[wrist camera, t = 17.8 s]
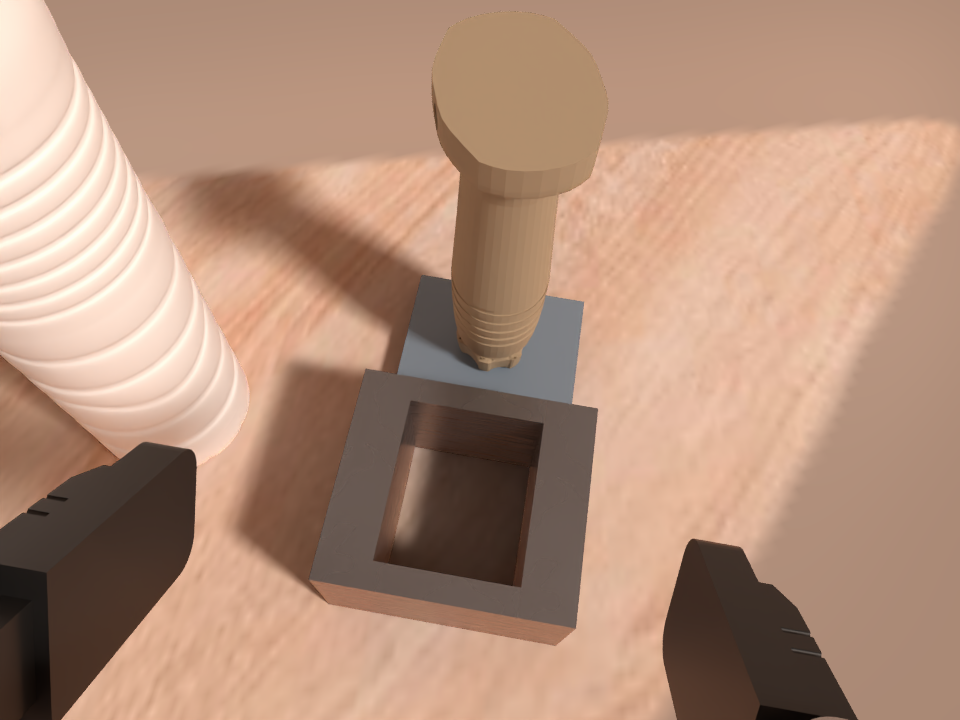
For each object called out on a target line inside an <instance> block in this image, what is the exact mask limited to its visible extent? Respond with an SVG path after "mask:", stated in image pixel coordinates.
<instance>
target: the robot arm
mask: <svg viewBox="0 0 960 720" xmlns="http://www.w3.org/2000/svg"><path fill="white" fill-rule="evenodd" d="M196 469H197V462H196V456H195V453H194V452H193V451H192V450H191V449H186V448H180V447H175V446H169V445H163V444H158V443H152V442H142V443H141V444H139V445H138V446H136V447H135V448H134V449H133V450H131V451H130V452H129V453H127V454H126V455H125V456H123V457H122V458H121V459H120V460H118V461H117V462H116V463H114V464H113V465H112V466H106V465H103V466H100V467H98V468H95V469H92V470H90V471H87V472H84V473H82V474H79V475H76V476H74V477H71V478H70V479H68V480H67V481H66V482H64V483H63V484H61V485H60V486H59V487H57V488H56V489H55V490H53V491H52V492H50V493H49V494H48V495H47V498H46V499H45V498H42V499H41V500H40V501H38V502H37V503H35V504H34V505H33V506H31V507H30V508H29V509H28V511H27V513H22V514H20V515H19V516H18V517H16V518H15V519H13V520H12V521H11V522H9V523H8V524H7V525H5V526H4V527H3V528H1V529H0V720H61V719H62V718H63V717H64V715H65V714H66V713H67V712H68V710H69V709H70V708H71V707H72V706H73V704H74V703H75V702H76V701H77V699H78V698H79V697H80V696H81V695H82V693H83V692H84V691H85V690H86V688H87V687H88V686H89V685H90V684H91V682H92V681H93V680H94V679H95V678H96V676H97V675H98V674H99V673H100V671H101V670H102V669H103V668H104V667H105V665H106V664H107V663H108V662H109V660H110V659H111V658H112V657H113V656H114V654H115V653H116V652H117V651H118V649H119V648H120V647H121V646H122V645H123V643H124V642H125V641H126V640H127V638H128V637H129V636H130V635H131V634H132V632H133V631H134V630H135V629H136V628H137V626H138V625H139V624H140V623H141V621H142V620H143V619H144V618H145V617H146V615H147V614H148V613H149V612H150V610H151V609H152V608H153V607H154V606H155V604H156V603H157V602H158V601H159V599H160V598H161V597H162V596H163V595H164V593H165V592H166V591H167V590H168V589H169V587H170V586H171V585H172V584H173V582H174V581H175V580H176V579H177V578H178V576H179V575H180V574H181V572H182V571H183V569H184V567H185V565H186V563H187V561H188V558H189V555H190V552H191V549H192V545H193V539H194V524H195V496H196ZM663 660H664V666H665V670H666V674H667V679H668V683H669V687H670V691H671V696H672V700H673V704H674V708H675V713H676V717H677V720H858V719H857V717H856V715H855V714H854V712H853V710H852V708H851V706H850V704H849V703H848V701H847V699H846V697H845V695H844V693H843V691H842V690H841V688H840V686H839V684H838V682H837V680H836V679H835V677H834V675H833V673H832V671H831V669H830V668H829V666H828V664H827V662H826V660H825V659H824V658H821V651H820V649H819V647H818V646H817V644H816V642H815V640H814V638H813V637H810V631H809V629H808V627H807V625H806V624H805V621H804V620H803V618H802V616H801V614H800V612H799V611H798V609H797V608H796V606H794V605H793V604H792V603H791V602H790V601H789V600H788V599H787V598H786V597H785V596H784V595H783V594H782V593H781V592H780V591H779V590H777V589H776V588H775V587H774V586H773V585H771V584H766V583H760V582H758V580H757V578H756V576H755V574H754V572H753V569H752V567H751V565H750V563H749V561H748V559H747V557H746V555H745V553H744V551H743V550H742V548H741V547H738V546H732V545H726V544H721V543H715V542H709V541H704V540H698V539H691V540H690V541H689V543H688V544H687V546H686V549H685V552H684V555H683V559H682V563H681V566H680V570H679V574H678V577H677V581H676V585H675V588H674V592H673V596H672V599H671V603H670V607H669V610H668V614H667V618H666V622H665V627H664V634H663Z"/></svg>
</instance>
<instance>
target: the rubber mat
mask: <svg viewBox="0 0 960 720" xmlns="http://www.w3.org/2000/svg"><path fill="white" fill-rule="evenodd" d="M583 307H584V302H581V301H575V300H569V299H563V298H557V297H551V296H545V301H544V305H543V308H542V311H541V315H540V318H539V321H538V323H537V326H536V328H535V330H534V333H533V335H532V336H531V338H530V340H529V341H528V343H527V344H526V345H525V346H524V347H523V349H522V355H521V358H520V361H519V362H518V364H517V365H516V366H514V367H513V368H507V367H497V368H493V369H491V370H490V371H488V372H487V371H483V370H480V369H479V368H478V365H477V363H476V362H475V360H474V359H473V358H472V357H471V356H470V355H468V354H467V353H463V352H462V351H461V349H460V347H459V344H458V340H457V326H456V322H455V316H454V309H453V298H452V280H449V279H443V278H437V277H431V276H425V275H422V276H421V280H420V284H419V288H418V292H417V296H416V300H415V304H414V308H413V312H412V316H411V320H410V324H409V328H408V332H407V336H406V340H405V344H404V348H403V352H402V356H401V360H400V364H399V368H398V372H397V374H399V375H405V376H411V377H417V378H423V379H428V380H434V381H440V382H446V383H452V384H458V385H463V386H469V387H475V388H481V389H487V390H492V391H498V392H504V393H510V394H516V395H522V396H527V397H533V398H539V399H545V400H551V401H557V402H562V403H568V404H572V398H573V390H574V382H575V373H576V365H577V357H578V348H579V340H580V332H581V323H582V315H583Z"/></svg>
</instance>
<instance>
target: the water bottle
mask: <svg viewBox="0 0 960 720" xmlns="http://www.w3.org/2000/svg"><path fill="white" fill-rule="evenodd" d="M0 355H1V356H2V357H3V358H4V359H5V360H6V361H8V362H9V363H10V364H11V365H12V366H14V367H15V368H16V369H18V370H19V371H20V372H22V373H23V374H24V375H25V376H26V377H27V378H28V379H29V380H30V381H31V382H32V383H33V384H34V385H35V386H36V387H38V388H39V389H40V390H41V391H43V392H44V393H46V394H47V395H48V396H49V397H50V398H51V399H52V400H53V401H54V402H55V403H56V404H57V405H58V406H59V407H61V408H62V409H63V410H64V411H65V412H67V413H68V414H69V415H71V416H72V417H73V418H74V419H75V420H76V421H77V422H78V423H79V424H80V425H81V426H82V427H84V428H85V429H86V430H87V431H88V432H90V433H91V434H92V435H93V436H94V437H95V438H96V439H97V440H98V441H99V442H101V443H102V444H103V445H104V446H105V447H106V448H107V449H108V450H110V451H111V452H112V453H113V454H114V455H115V456H116V457H118V458H119V459H121V458H122V457H123V456H125V455H126V454H127V453H129V452H130V451H131V450H133V449H134V448H135V447H136V446H138V445H139V444H141V443H142V442H152V443H158V444H163V445H169V446H175V447H180V448H186V449H191V450H192V451H193V452H194V453H195V456H196V462H197V466H199V465H201V464H203V463H205V462H206V461H207V460H208V459H209V458H210V457H214V456H216V455H217V454H219V453H220V452H222V451H223V450H224V449H225V448H226V447H227V446H228V445H229V444H230V443H231V442H232V440H233V439H234V438H235V437H236V435H237V434H238V432H239V430H240V428H241V424H242V422H243V421H244V420H245V418H246V415H247V412H248V407H249V399H250V393H249V386H248V382H247V378H246V375H245V372H244V370H243V368H242V366H241V365H240V363H239V361H238V359H237V357H236V355H235V353H234V352H233V350H232V348H231V347H230V345H229V344H228V341H227V339H226V337H225V335H224V333H223V332H222V330H221V328H220V327H219V325H218V324H217V322H216V320H215V318H214V315H213V313H212V311H211V309H210V308H209V306H208V304H207V302H206V301H205V299H204V297H203V296H202V294H201V293H200V290H199V288H198V286H197V284H196V282H195V280H194V278H193V276H192V275H191V273H190V272H189V270H188V269H187V266H186V264H185V262H184V260H183V258H182V256H181V254H180V252H179V250H178V249H177V247H176V245H175V244H174V242H173V241H172V239H171V238H170V236H169V233H168V231H167V228H166V226H165V224H164V222H163V220H162V218H161V217H160V215H159V213H158V211H157V210H156V208H155V206H154V205H153V203H152V202H151V200H150V198H149V197H148V195H147V193H146V192H145V190H144V189H143V186H142V184H141V182H140V180H139V178H138V177H137V175H136V173H135V172H134V170H133V168H132V166H131V164H130V162H129V160H128V158H127V156H126V155H125V153H124V152H123V150H122V148H121V146H120V143H119V141H118V140H117V138H116V136H115V135H114V133H113V132H112V130H111V128H110V126H109V123H108V122H107V120H106V117H105V116H104V114H103V112H102V111H101V109H100V108H99V106H98V104H97V101H96V99H95V97H94V95H93V94H92V92H91V90H90V89H89V87H88V85H87V84H86V82H85V80H84V78H83V76H82V74H81V71H80V70H79V68H78V66H77V65H76V63H75V61H74V60H73V58H72V57H71V55H70V54H69V51H68V48H67V46H66V44H65V42H64V40H63V38H62V36H61V34H60V32H59V30H58V28H57V26H56V23H55V21H54V19H53V17H52V15H51V13H50V11H49V9H48V7H47V5H46V4H45V2H44V0H0Z"/></svg>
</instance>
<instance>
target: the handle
mask: <svg viewBox="0 0 960 720" xmlns="http://www.w3.org/2000/svg"><path fill="white" fill-rule="evenodd" d="M432 103H433V112H434V118H435V124H436V130H437V135H438V138H439V141H440V144H441V146H442V148H443V150H444V152H445V153H446V155H447V157H448V158H449V159H450V161H451V162H452V164H453V165H454V166H455V167H456V168H457V170H458V171H459V172H460V182H459V194H458V206H457V217H456V227H455V237H454V247H453V257H452V267H451V271H452V272H451V279H452V298H453V309H454V316H455V322H456V326H457V340H458V344H459V347H460V349H461V351H462V352H463V353H467V354H468V355H470V356H471V357H472V358H473V359H474V360H475V362H476V363H477V365H478V368H479V369H480V370H483V371H487V372H488V371H490V370H491V369H493V368H497V367H507V368H513V367H514V366H516V365H517V364H518V362H519V361H520V358H521V355H522V349H523V347H524V346H525V345H526V344H527V343H528V341H529V340H530V338H531V336H532V335H533V333H534V330H535V328H536V326H537V323H538V321H539V318H540V315H541V311H542V308H543V305H544V301H545V296H546V292H547V287H548V283H549V278H550V269H551V259H552V250H553V240H554V230H555V221H556V212H557V204H558V195H559V194H562V193H565V192H568V191H570V190H572V189H574V188H576V187H577V186H579V185H581V184H582V183H583V182H585V181H586V180H587V179H589V178H590V176H591V173H592V171H593V167H594V164H595V161H596V157H597V154H598V150H599V146H600V143H601V139H602V135H603V131H604V126H605V122H606V118H607V114H608V98H607V93H606V89H605V86H604V84H603V81H602V78H601V75H600V73H599V69H598V67H597V64H596V63H595V61H594V59H593V57H592V55H591V54H590V52H589V51H588V50H587V49H586V48H585V46H583V44H582V43H581V42H580V41H579V40H578V39H576V38H575V37H574V36H573V35H572V34H571V33H570V32H569V31H568V30H567V29H565V28H564V27H563V26H562V25H561V24H560V23H558V22H557V21H556V20H555V19H553V18H550V17H547V16H544V15H539V14H535V13H529V12H516V11H514V12H495V13H487V14H481V15H477V16H474V17H470V18H467V19H465V20H463V21H460V22H458V23H456V24H455V25H453V26H451V27H450V28H448V30H447V32H446V34H445V36H444V38H443V41H442V43H441V45H440V47H439V49H438V52H437V54H436V56H435V60H434V63H433V67H432Z"/></svg>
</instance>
